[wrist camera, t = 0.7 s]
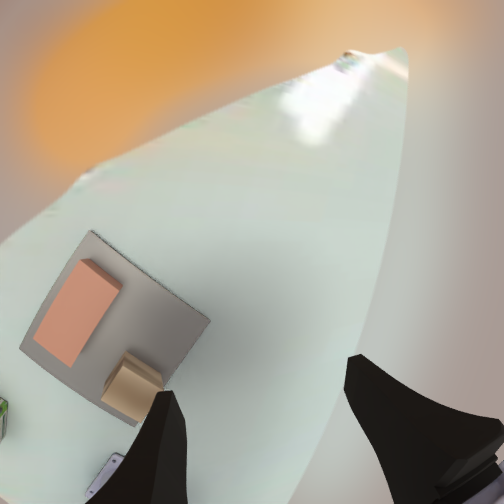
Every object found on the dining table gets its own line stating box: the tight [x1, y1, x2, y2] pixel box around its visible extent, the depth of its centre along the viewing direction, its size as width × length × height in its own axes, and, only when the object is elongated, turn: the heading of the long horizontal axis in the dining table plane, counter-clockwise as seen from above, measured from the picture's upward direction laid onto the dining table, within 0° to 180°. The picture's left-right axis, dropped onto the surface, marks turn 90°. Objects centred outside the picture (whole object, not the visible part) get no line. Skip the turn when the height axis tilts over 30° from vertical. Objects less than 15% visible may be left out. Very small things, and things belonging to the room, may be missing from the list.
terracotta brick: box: [33, 258, 123, 368], centre depth 23 cm, size 8×4×4 cm, turn 143°
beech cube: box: [101, 351, 164, 423], centre depth 24 cm, size 4×4×4 cm
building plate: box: [19, 230, 210, 427], centre depth 26 cm, size 14×14×1 cm
